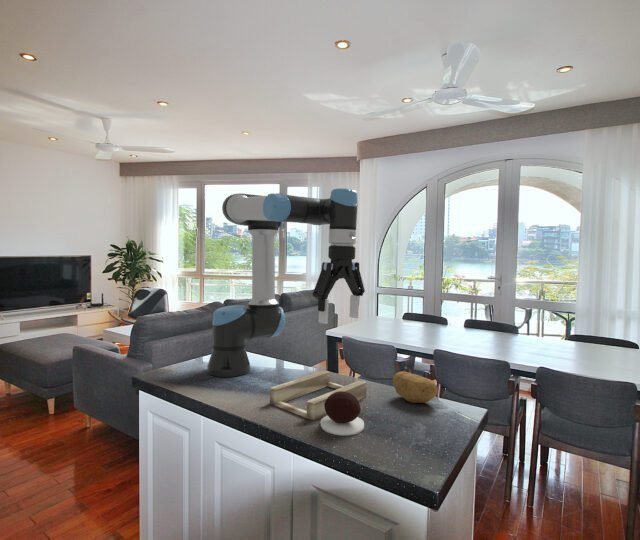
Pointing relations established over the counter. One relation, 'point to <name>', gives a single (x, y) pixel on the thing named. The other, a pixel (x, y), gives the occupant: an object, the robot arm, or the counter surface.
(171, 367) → the counter surface
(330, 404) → the dark brown rounded piece
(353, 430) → the plate
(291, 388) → the cradle
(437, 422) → the counter surface
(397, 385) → the potato
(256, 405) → the counter surface
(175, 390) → the counter surface
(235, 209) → the robot arm
